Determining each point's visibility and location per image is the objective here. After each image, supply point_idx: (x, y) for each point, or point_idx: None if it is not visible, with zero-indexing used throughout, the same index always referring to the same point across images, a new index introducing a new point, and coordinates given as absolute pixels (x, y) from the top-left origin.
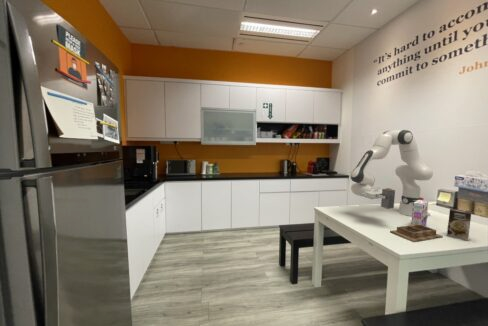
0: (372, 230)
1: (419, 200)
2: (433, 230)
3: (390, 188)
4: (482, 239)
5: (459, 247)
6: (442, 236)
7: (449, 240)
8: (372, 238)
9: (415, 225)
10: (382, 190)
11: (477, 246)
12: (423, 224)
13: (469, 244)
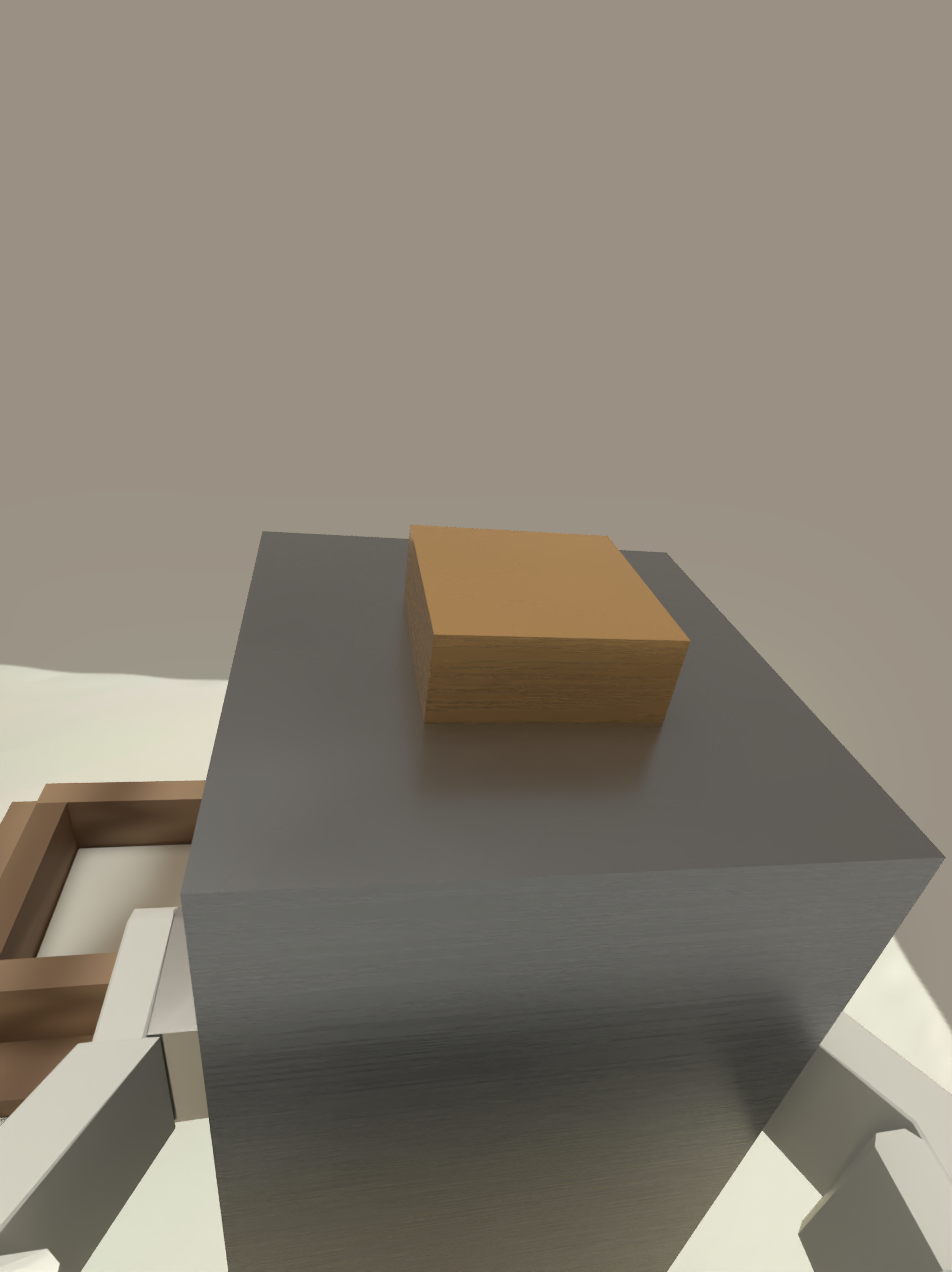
0: (806, 1192)
1: None
2: (109, 782)
3: (424, 548)
4: None
5: (192, 686)
6: (20, 807)
7: (65, 764)
8: (889, 942)
9: (99, 954)
10: (869, 927)
11: (8, 666)
12: None
13: (12, 692)
